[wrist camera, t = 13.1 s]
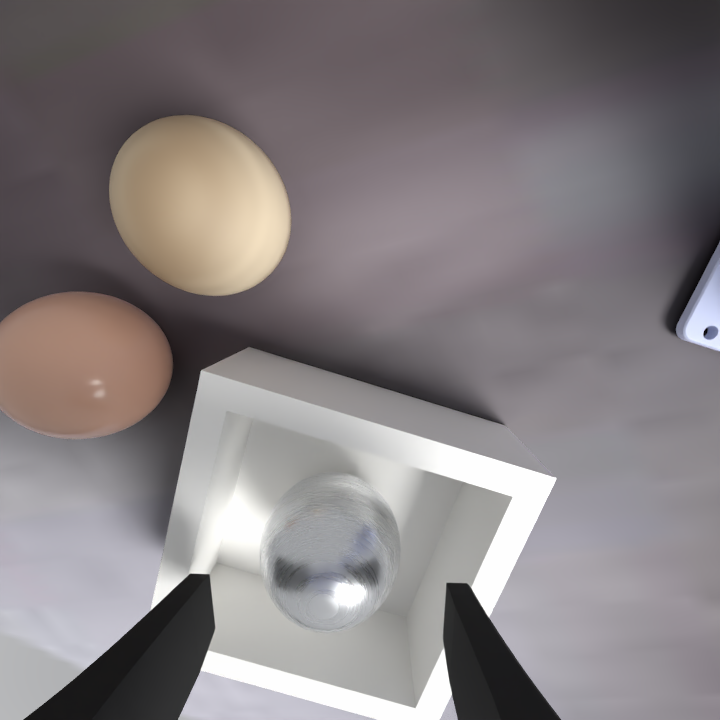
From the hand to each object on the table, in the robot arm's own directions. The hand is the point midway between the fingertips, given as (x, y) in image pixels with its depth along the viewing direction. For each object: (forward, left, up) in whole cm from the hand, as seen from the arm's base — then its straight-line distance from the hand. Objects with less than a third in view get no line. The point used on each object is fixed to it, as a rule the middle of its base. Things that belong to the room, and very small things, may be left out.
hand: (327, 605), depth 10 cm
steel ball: (0, 0, -5) cm, 5 cm away
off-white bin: (0, 0, -5) cm, 5 cm away
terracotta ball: (+10, -4, -5) cm, 12 cm away
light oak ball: (+7, -10, -5) cm, 13 cm away
